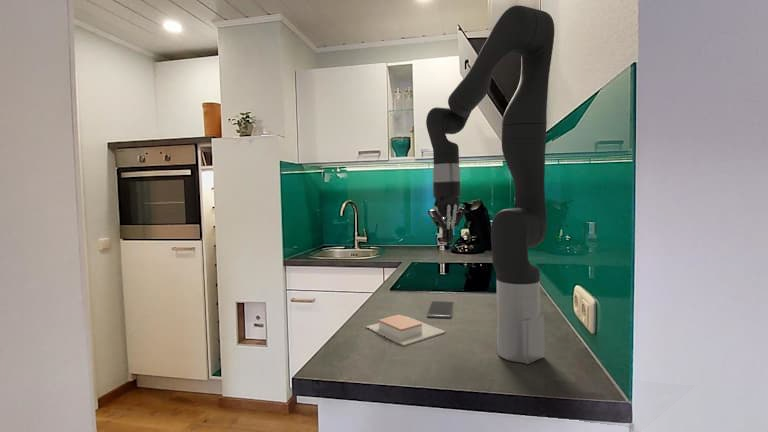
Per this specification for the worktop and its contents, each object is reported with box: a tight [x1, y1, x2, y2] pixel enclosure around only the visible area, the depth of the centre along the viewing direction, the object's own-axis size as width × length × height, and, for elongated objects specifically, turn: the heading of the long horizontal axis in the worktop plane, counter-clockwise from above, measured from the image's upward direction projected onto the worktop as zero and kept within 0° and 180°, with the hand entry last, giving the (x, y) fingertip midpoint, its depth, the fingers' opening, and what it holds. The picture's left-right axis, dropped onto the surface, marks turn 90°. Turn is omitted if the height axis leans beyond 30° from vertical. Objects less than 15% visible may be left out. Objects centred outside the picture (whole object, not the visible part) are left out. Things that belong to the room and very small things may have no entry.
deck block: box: [378, 314, 423, 339], centre depth 107 cm, size 10×2×7 cm
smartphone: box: [426, 300, 454, 319], centre depth 126 cm, size 7×1×16 cm
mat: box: [365, 315, 446, 347], centre depth 109 cm, size 17×14×1 cm
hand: (447, 242), depth 113 cm, fingers closed
